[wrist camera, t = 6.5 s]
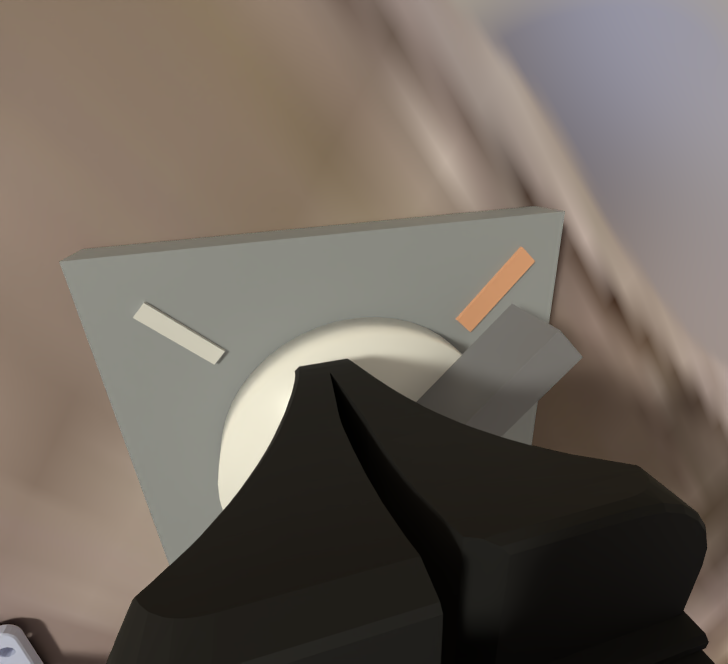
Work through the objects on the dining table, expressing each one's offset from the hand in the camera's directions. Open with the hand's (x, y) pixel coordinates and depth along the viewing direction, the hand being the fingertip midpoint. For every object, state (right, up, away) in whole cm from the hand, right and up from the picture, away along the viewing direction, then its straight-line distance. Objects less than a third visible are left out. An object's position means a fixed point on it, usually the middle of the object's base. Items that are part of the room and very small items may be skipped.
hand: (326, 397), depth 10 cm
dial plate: (0, -1, +5) cm, 5 cm away
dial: (+1, -2, +4) cm, 4 cm away
